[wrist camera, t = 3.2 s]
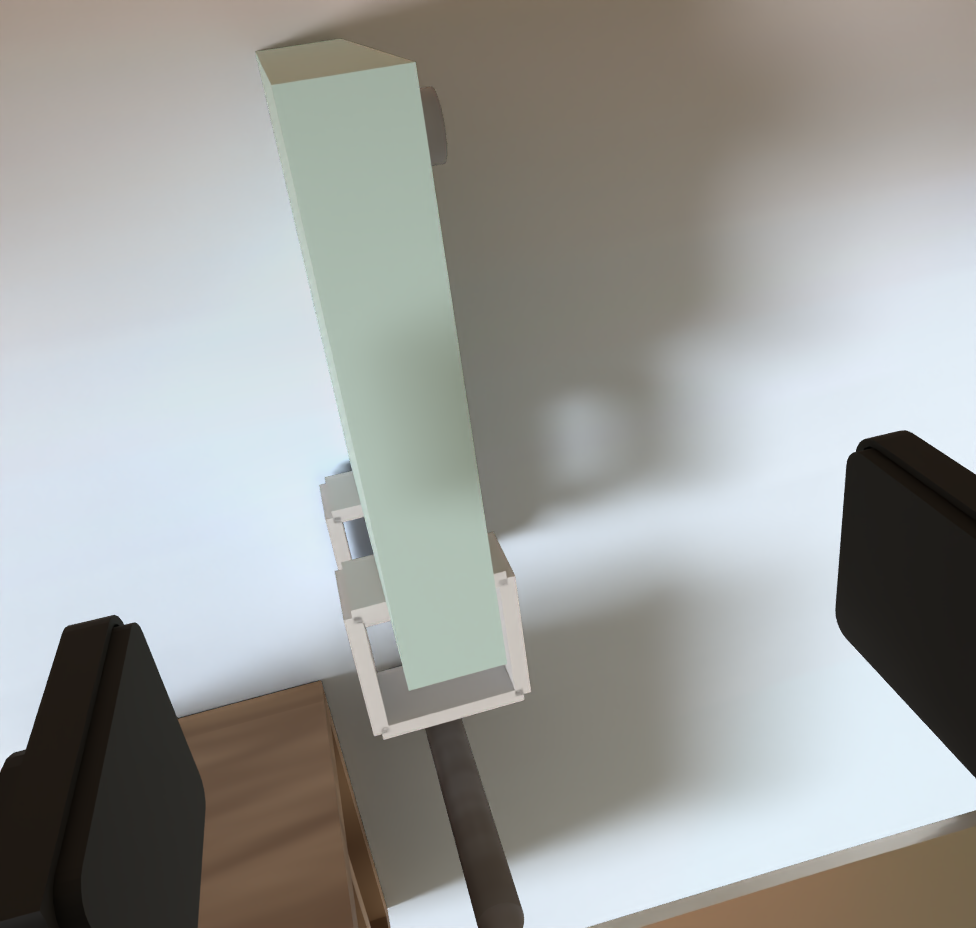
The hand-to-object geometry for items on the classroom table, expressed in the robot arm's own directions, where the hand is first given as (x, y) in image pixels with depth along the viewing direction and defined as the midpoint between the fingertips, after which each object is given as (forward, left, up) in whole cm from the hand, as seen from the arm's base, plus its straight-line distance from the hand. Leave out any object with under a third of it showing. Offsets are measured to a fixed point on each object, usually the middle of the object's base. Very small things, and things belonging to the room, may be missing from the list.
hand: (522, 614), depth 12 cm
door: (+1, -1, -14) cm, 14 cm away
